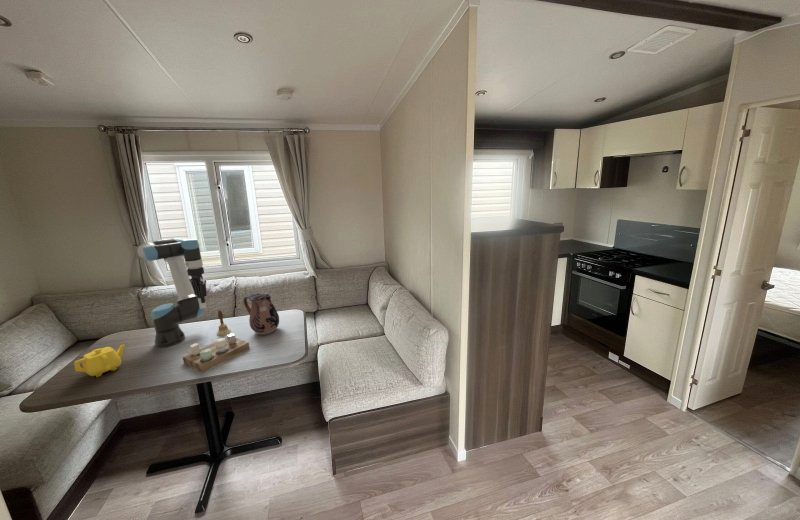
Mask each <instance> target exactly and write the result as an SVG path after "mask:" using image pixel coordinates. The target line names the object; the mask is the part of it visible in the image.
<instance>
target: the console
mask: <svg viewBox="0 0 800 520" xmlns="http://www.w3.org/2000/svg"><path fill="white" fill-rule="evenodd" d="M224 338H225V340H226V345H227V346H226V347H225V348H223V349H216V346H215V341H214V342H212V343H210V344H207V345H205V346H203V347H201V348H200V352H201V351H202V350H205V349H211V352H212V356H213V357H212V358H211V359H209V360H206V361H202V360H201V356H200V353H199V354H197V355H192V353H191V352H189V353H187V354H185V355H183V356H182V360H183V364H185V365H186V366H188V367H190V368H193V369H194V370H197V371H198V372H200V373H205V372H207V371H209V370H211V369H212V368H213V369H214V368H215V367H217V366H218V365H221V364H223V363H224V362H226V361H228V360H230V359H232V358H235V357H236V356H238V355H240V354H242V353H244V352H246V351H247V350H250V343H249V341H245V340H242V339H241V338H237V337H236V343H234V344H232V345H231V344H228V339H227V336H225V337H224Z"/></svg>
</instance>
